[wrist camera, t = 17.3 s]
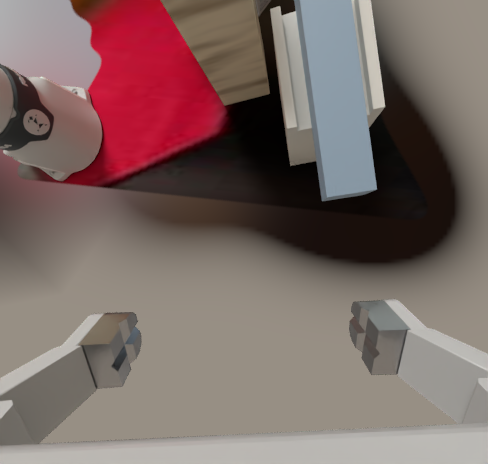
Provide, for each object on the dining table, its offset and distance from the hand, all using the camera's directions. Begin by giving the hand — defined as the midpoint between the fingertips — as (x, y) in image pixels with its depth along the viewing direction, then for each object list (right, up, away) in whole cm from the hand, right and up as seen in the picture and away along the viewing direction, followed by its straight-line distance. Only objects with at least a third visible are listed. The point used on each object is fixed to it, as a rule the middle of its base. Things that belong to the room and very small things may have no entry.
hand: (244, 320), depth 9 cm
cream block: (+11, +21, +30) cm, 38 cm away
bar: (+8, +18, +15) cm, 25 cm away
